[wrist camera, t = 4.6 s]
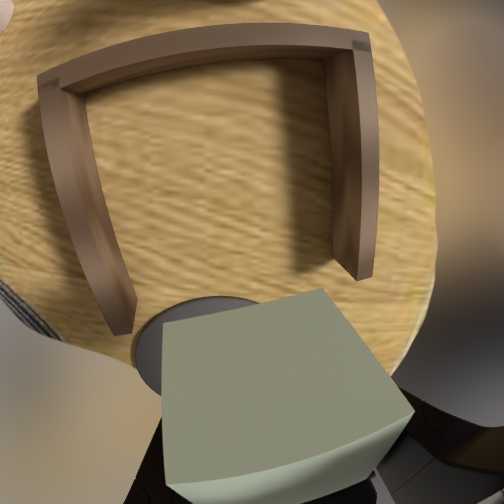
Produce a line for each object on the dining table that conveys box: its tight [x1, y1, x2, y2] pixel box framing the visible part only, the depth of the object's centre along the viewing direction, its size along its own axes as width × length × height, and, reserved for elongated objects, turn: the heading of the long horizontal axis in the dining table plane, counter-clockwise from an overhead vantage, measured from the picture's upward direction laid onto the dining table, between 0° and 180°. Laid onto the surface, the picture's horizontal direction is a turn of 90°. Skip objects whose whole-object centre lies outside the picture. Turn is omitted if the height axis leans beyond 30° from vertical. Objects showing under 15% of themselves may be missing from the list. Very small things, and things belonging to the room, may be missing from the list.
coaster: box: [135, 296, 260, 396], centre depth 22 cm, size 13×13×1 cm
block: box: [162, 288, 415, 504], centre depth 7 cm, size 5×5×5 cm
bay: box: [37, 23, 379, 336], centre depth 14 cm, size 15×16×4 cm
